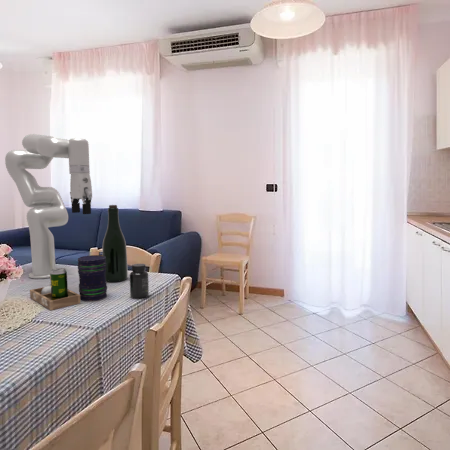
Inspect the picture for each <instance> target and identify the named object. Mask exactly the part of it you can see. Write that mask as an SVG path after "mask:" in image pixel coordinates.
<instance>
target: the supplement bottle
mask: <svg viewBox="0 0 450 450" xmlns="http://www.w3.org/2000/svg"><path fill="white" fill-rule="evenodd" d="M146 269H147V268H146V264H144V263H135V264H132V266H131V272H130V273H129V296H130V298H131V299H137V300H139V299H141V300H142V299H145V298H147V297H148V296H149V294H150V291H149V290H150V287H149V273H148V271H146Z"/></svg>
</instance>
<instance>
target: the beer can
mask: <svg viewBox="0 0 450 450" xmlns="http://www.w3.org/2000/svg"><path fill="white" fill-rule="evenodd" d="M55 268H56V269H52V270H51V272H50V283H51V285H50V286H51V298H52V300H57V299H61V298H66V297H68V289H69V286H68V271H67V268H65V267H59V268H57V267H55Z"/></svg>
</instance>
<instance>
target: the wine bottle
mask: <svg viewBox="0 0 450 450" xmlns="http://www.w3.org/2000/svg"><path fill="white" fill-rule="evenodd" d="M119 211H120V210H119V207H118V205H117V204H109V205H108V208H107V215H108V216H107V219H108V220H107V228H106V231H105V234H104V238H103V241H102V249H101V251H102V256H105V257H106V259H105V261H106V272H105V274H106V282H107V283H118V282H123V281H125V280H127V279H128V278H129V276H128V275H129V274H128V273H129V271H128V255H127V254H128V253H127V244H126V243H127V242H126V239H125V236H124V234H123V232H122V228H121V226H120V225H121V224H120V219H119V218H120V217H119Z"/></svg>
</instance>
